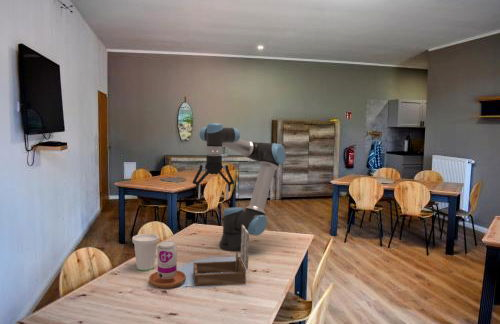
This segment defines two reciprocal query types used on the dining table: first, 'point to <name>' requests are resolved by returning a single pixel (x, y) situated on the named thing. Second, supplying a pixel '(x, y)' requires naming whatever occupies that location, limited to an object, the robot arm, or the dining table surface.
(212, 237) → the dining table surface
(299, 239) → the dining table surface
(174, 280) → the saucer
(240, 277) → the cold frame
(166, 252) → the supplement can
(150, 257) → the cup
